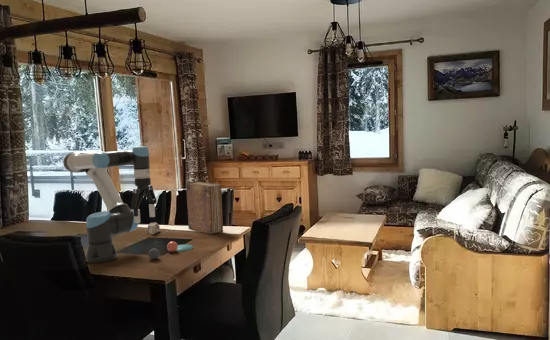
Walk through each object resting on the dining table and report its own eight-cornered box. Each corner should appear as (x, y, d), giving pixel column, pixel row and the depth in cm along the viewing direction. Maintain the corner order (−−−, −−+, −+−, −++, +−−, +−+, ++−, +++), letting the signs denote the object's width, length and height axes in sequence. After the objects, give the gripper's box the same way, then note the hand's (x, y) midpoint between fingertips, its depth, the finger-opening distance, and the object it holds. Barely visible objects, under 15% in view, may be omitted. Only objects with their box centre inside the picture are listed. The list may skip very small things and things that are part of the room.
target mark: (183, 252, 235) (183, 252, 235) (163, 250, 241) (163, 249, 241) (198, 246, 247) (198, 245, 247) (179, 244, 253) (179, 243, 253)
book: (223, 232, 277) (221, 184, 274) (210, 235, 271) (208, 185, 268) (200, 226, 296) (198, 181, 292) (188, 228, 289) (185, 182, 286)
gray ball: (152, 261, 221) (151, 250, 221) (146, 259, 225) (146, 248, 225) (162, 259, 225) (161, 248, 225) (156, 256, 229) (156, 246, 229)
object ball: (170, 253, 234) (170, 243, 233) (165, 251, 238) (164, 241, 237) (180, 251, 238) (179, 241, 237) (174, 249, 242) (174, 239, 241)
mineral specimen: (163, 234, 278) (162, 224, 277) (151, 235, 274) (150, 225, 274) (157, 230, 289) (156, 220, 288) (146, 231, 285) (145, 222, 284)
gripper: (134, 180, 209) (137, 225, 211) (162, 174, 233) (164, 214, 235) (120, 180, 211) (123, 225, 213) (149, 174, 235) (151, 214, 237)
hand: (145, 219), depth 224 cm, fingers open, 13 cm apart
